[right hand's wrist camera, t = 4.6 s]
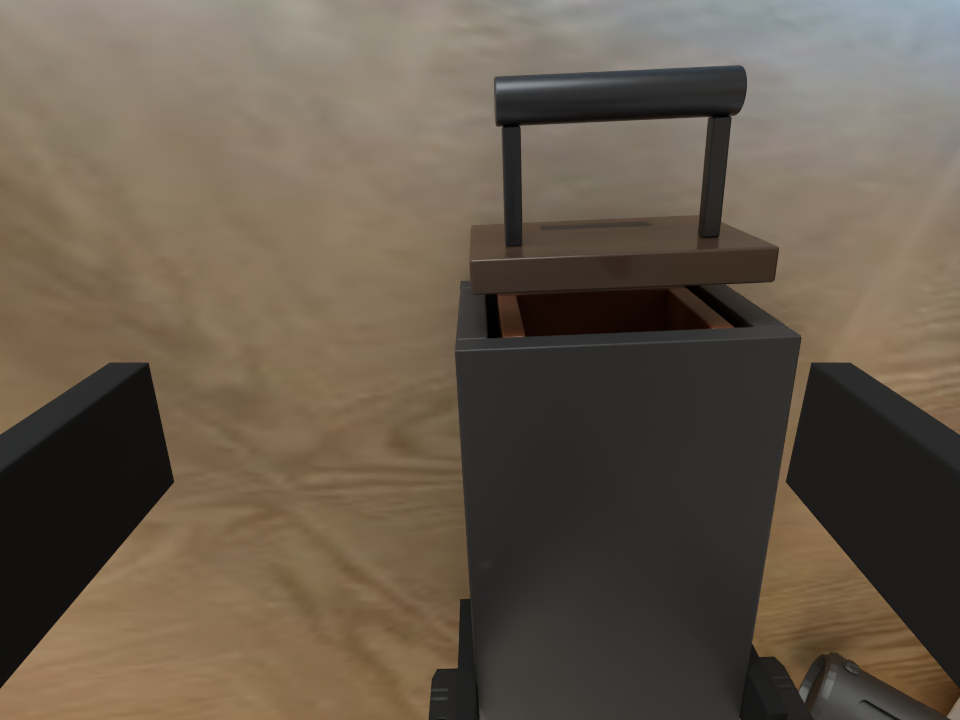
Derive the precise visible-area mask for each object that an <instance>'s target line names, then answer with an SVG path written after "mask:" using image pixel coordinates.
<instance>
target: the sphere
mask: <svg viewBox="0 0 960 720" xmlns="http://www.w3.org/2000/svg"><path fill="white" fill-rule="evenodd" d="M798 692H799V694H800V696H801V698H802V700H803V701H804V703H805V705H806V707H807V709H808V710H809V712H810V714H811V716H812V717H813V719H814V720H960V697H959V698H958V700H957V701H956V703H955V704H954V706H953V707H952V709H951V711H950V712H949V714H948V715H947V717H945V716H943V715H942V714H940V713H939V712H938V711H937V710H935V709H933V708H931V707H929V706H927V705H925V704H923V703H921V702H919V701H917V700H915V699H913V698H911V697H909V696H908V695H906V694H904V693H902V692H901V691H899V690H897V689H895V688H893V687H892V686H890V685H888V684H886V683H884V682H883V681H881V680H879V679H877V678H876V677H874V676H872V675H870V674H868V673H867V672H865V671H863V670H861V669H860V668H859V667H858V665H857V664H856V663H855V662H853V661H851V660H847V659H845V658H844V657H842V656H841V655H839V654H838V653H832V652H830V654H829V655H826V654H822V655H820V656H819V657H818V658H817V659H816V660H815V661H814V662H813V664H812V665H811V667H810V668H809V670H808V672H807V674H806V676H805V678H804V680H803V682H802V684H801V686H800V689H799V691H798Z"/></svg>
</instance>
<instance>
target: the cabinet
mask: <svg viewBox="0 0 960 720" xmlns="http://www.w3.org/2000/svg"><path fill="white" fill-rule="evenodd" d="M684 287H686V288H687V289H688V290H689V291H691V292H692V293H693V294H694V295H695V296H697V297H698V298H699V299H700V300H702V301H703V302H704V303H705V304H706V305H708V306H709V307H710V308H711V309H713V310H714V311H715V312H716V313H718V314H719V315H720V316H721V317H722V318H724V319H725V320H726V321H727V322H729V323H730V324H731V325H732V326H733V327H734V328H722V329H698V330H675V331H652V332H628V333H605V334H581V335H558V336H535V337H511V338H499V334H498V305H497V294H488V295H473V294H472V293H471V281H467V282H463V281H461V285H460V302H459V313H458V325H457V336H456V347H455V359H456V375H457V391H458V407H459V423H460V439H461V455H462V471H463V487H464V503H465V519H466V535H467V551H468V567H469V583H470V599H471V615H472V631H473V647H474V663H475V679H476V693H477V709H478V720H740V714H741V708H742V702H743V696H744V689H745V683H746V677H747V671H748V665H749V658H750V652H751V646H752V640H753V634H754V627H755V621H756V615H757V609H758V603H759V597H760V590H761V584H762V578H763V572H764V566H765V559H766V553H767V547H768V541H769V535H770V528H771V522H772V516H773V510H774V504H775V498H776V491H777V485H778V479H779V473H780V467H781V460H782V454H783V448H784V442H785V436H786V429H787V423H788V417H789V411H790V405H791V399H792V392H793V386H794V380H795V374H796V368H797V361H798V355H799V349H800V343H801V336H800V335H799V334H797V333H796V332H795V331H793V330H792V329H790V328H789V327H787V326H785V324H783V323H782V322H780V321H779V320H777V319H776V318H774V317H773V316H771V315H770V314H768V313H767V312H765V311H764V310H762V309H761V308H759V307H758V306H756V305H755V304H753V303H752V302H751V301H749V300H748V299H746V298H745V297H743V296H742V295H740V294H739V293H737V292H736V291H734V290H733V289H731V288H730V287H728V286H727V285H725V284H717V285H694V286H684Z"/></svg>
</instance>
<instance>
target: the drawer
mask: <svg viewBox="0 0 960 720" xmlns="http://www.w3.org/2000/svg"><path fill="white" fill-rule="evenodd" d="M746 90H747V77H746V72H745V69H744V68H743V67H742V66H740V65H735V66H714V67H693V68H672V69H651V70H629V71H608V72H587V73H566V74H545V75H523V76H502V77H495V78H494V102H495V123H496V126H497V127H499V126H503V127H502V156H503V192H504V224H495V225H473V226H472V227H471V243H470V278H471V293H472V294H473V295H488V294H497V305H498V334H499V338H511V337H535V336H558V335H581V334H605V333H628V332H652V331H675V330H698V329H722V328H734V327H733V326H732V325H731V324H730V323H729V322H727V321H726V320H725V319H724V318H722V317H721V316H720V315H719V314H718V313H716V312H715V311H714V310H713V309H711V308H710V307H709V306H708V305H706V304H705V303H704V302H703V301H702V300H700V299H699V298H698V297H697V296H695V295H694V294H693V293H692V292H691V291H689V290H688V289H687V288H686V287H684V286H694V285H717V284H740V283H763V282H773V281H774V280H775V273H776V266H777V259H778V252H779V247H778V246H775V245H773V244H771V243H768V242H766V241H764V240H761V239H759V238H757V237H754V236H752V235H750V234H748V233H745V232H743V231H741V230H738V229H736V228H734V227H731V226H729V225H727V224H724V223H722V222H721V215H722V206H723V196H724V186H725V176H726V166H727V157H728V147H729V137H730V127H731V116H734V115H737V114H738V113H739V112H740V110H741V108H742V106H743V104H744V100H745V96H746ZM693 117H709V118H708V126H707V138H706V149H705V160H704V171H703V183H702V194H701V205H700V215H697V216H674V217H652V218H630V219H607V220H585V221H562V222H540V223H522V184H521V128H520V126H521V125H542V124H564V123H586V122H607V121H629V120H650V119H672V118H693Z"/></svg>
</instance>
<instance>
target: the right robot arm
mask: <svg viewBox="0 0 960 720" xmlns="http://www.w3.org/2000/svg"><path fill="white" fill-rule="evenodd" d="M173 483H174V479H173V474H172V470H171V465H170V460H169V456H168V451H167V447H166V442H165V437H164V433H163V428H162V423H161V419H160V414H159V409H158V405H157V400H156V395H155V391H154V386H153V382H152V377H151V372H150V368H149V363H109V364H107V365H105V366H104V367H102V368H101V369H99V370H98V371H96V372H95V373H93V374H92V375H90V376H89V377H87V378H86V379H84V380H83V381H81V382H80V383H78V384H77V385H75V386H74V387H72V388H71V389H69V390H68V391H66V392H65V393H63V394H62V395H60V396H58V397H57V398H55V399H54V400H52V401H51V402H49V403H48V404H46V405H45V406H43V407H42V408H40V409H39V410H37V411H36V412H34V413H33V414H31V415H30V416H28V417H27V418H25V419H24V420H22V421H21V422H19V423H18V424H16V425H15V426H13V427H11V428H10V429H8V430H7V431H5V432H4V433H2V434H1V435H0V688H1V687H2V686H3V685H4V684H5V682H6V681H7V680H8V679H9V678H10V676H11V675H12V674H13V673H14V672H15V670H16V669H17V668H18V667H19V666H20V665H21V663H22V662H23V661H24V660H25V659H26V657H27V656H28V655H29V654H30V653H31V651H32V650H33V649H34V648H35V647H36V646H37V644H38V643H39V642H40V641H41V640H42V638H43V637H44V636H45V635H46V634H47V632H48V631H49V630H50V629H51V628H52V626H53V625H54V624H55V623H56V622H57V621H58V619H59V618H60V617H61V616H62V615H63V613H64V612H65V611H66V610H67V609H68V607H69V606H70V605H71V604H72V603H73V602H74V600H75V599H76V598H77V597H78V596H79V594H80V593H81V592H82V591H83V590H84V588H85V587H86V586H87V585H88V584H89V583H90V581H91V580H92V579H93V578H94V577H95V575H96V574H97V573H98V572H99V571H100V569H101V568H102V567H103V566H104V565H105V564H106V562H107V561H108V560H109V559H110V558H111V556H112V555H113V554H114V553H115V552H116V550H117V549H118V548H119V547H120V546H121V545H122V543H123V542H124V541H125V540H126V539H127V537H128V536H129V535H130V534H131V533H132V531H133V530H134V529H135V528H136V527H137V526H138V524H139V523H140V522H141V521H142V520H143V518H144V517H145V516H146V515H147V514H148V512H149V511H150V510H151V509H152V508H153V506H154V505H155V504H156V503H157V502H158V501H159V499H160V498H161V497H162V496H163V495H164V493H165V492H166V491H167V490H168V489H169V487H170V486H171V485H172V484H173ZM786 483H787V484H788V485H789V486H790V487H791V489H792V490H793V491H794V492H795V493H796V495H797V496H798V497H799V498H800V499H801V501H802V502H803V503H804V504H805V505H806V506H807V508H808V509H809V510H810V511H811V512H812V514H813V515H814V516H815V517H816V518H817V520H818V521H819V522H820V523H821V524H822V526H823V527H824V528H825V529H826V530H827V531H828V533H829V534H830V535H831V536H832V537H833V539H834V540H835V541H836V542H837V543H838V545H839V546H840V547H841V548H842V549H843V550H844V552H845V553H846V554H847V555H848V556H849V558H850V559H851V560H852V561H853V562H854V564H855V565H856V566H857V567H858V568H859V569H860V571H861V572H862V573H863V574H864V575H865V577H866V578H867V579H868V580H869V581H870V583H871V584H872V585H873V586H874V587H875V588H876V590H877V591H878V592H879V593H880V594H881V596H882V597H883V598H884V599H885V600H886V602H887V603H888V604H889V605H890V606H891V607H892V609H893V610H894V611H895V612H896V613H897V615H898V616H899V617H900V618H901V619H902V621H903V622H904V623H905V624H906V625H907V626H908V628H909V629H910V630H911V631H912V632H913V634H914V635H915V636H916V637H917V638H918V640H919V641H920V642H921V643H922V644H923V646H924V647H925V648H926V649H927V650H928V651H929V653H930V654H931V655H932V656H933V657H934V659H935V660H936V661H937V662H938V663H939V665H940V666H941V667H942V668H943V669H944V670H945V672H946V673H947V674H948V675H949V676H950V678H951V679H952V680H953V681H954V682H955V684H956V685H957V686H958V687H959V688H960V435H959V434H958V433H956V432H955V431H953V430H952V429H950V428H949V427H947V426H945V425H944V424H942V423H941V422H939V421H938V420H936V419H935V418H933V417H932V416H930V415H929V414H927V413H926V412H924V411H923V410H921V409H920V408H918V407H917V406H915V405H914V404H912V403H911V402H909V401H908V400H906V399H905V398H903V397H902V396H900V395H898V394H897V393H895V392H894V391H892V390H891V389H889V388H888V387H886V386H885V385H883V384H882V383H880V382H879V381H877V380H876V379H874V378H873V377H871V376H870V375H868V374H867V373H865V372H864V371H862V370H861V369H859V368H858V367H856V366H855V365H853V364H851V363H811V368H810V372H809V377H808V382H807V386H806V391H805V395H804V400H803V405H802V409H801V414H800V419H799V423H798V428H797V433H796V437H795V442H794V447H793V451H792V456H791V460H790V465H789V470H788V474H787V479H786Z"/></svg>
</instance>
